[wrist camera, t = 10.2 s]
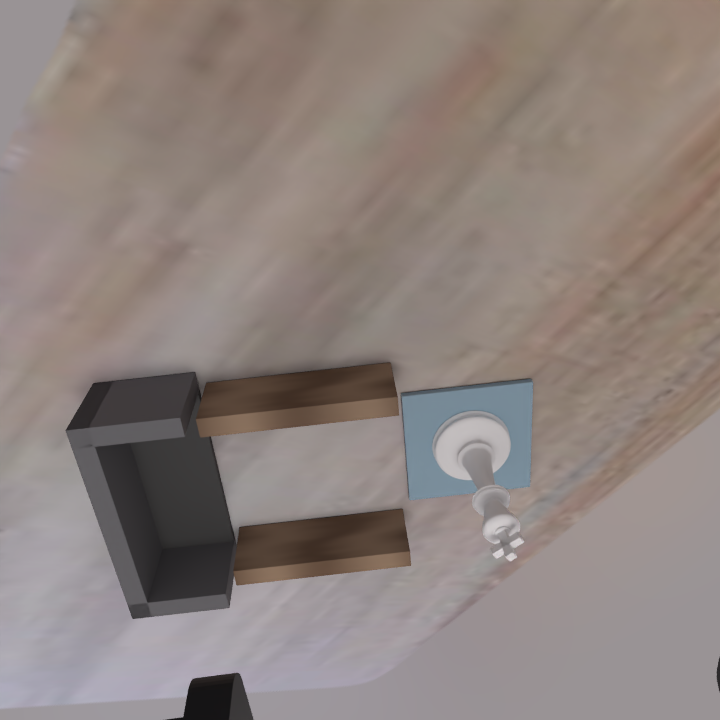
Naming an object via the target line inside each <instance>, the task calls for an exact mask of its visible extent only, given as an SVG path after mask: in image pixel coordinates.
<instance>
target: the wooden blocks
mask: <svg viewBox="0 0 720 720" xmlns="http://www.w3.org/2000/svg"><path fill="white" fill-rule="evenodd" d="M398 415H399V408H398V396H397V392H396V387H395V382H394V377H393V373H392V368H391V363H382V364H373V365H364V366H355V367H346V368H337V369H328V370H319V371H310V372H301V373H292V374H283V375H274V376H265V377H256V378H247V379H238V380H229V381H220V382H211V383H206V386H205V389H204V393H203V396H202V399H201V403H200V406H199V410H198V413H197V417H196V422H197V426H198V430H199V435H200V438H201V437H210V436H219V435H228V434H237V433H246V432H255V431H264V430H273V429H282V428H291V427H299V426H308V425H317V424H326V423H335V422H344V421H353V420H362V419H371V418H380V417H389V416H398ZM403 566H411V559H410V549H409V543H408V538H407V532H406V526H405V520H404V515H403V509H398V510H389V511H380V512H371V513H362V514H353V515H345V516H336V517H327V518H318V519H309V520H300V521H291V522H283V523H274V524H265V525H256V526H247V527H240V528H239V535H238V542H237V549H236V556H235V562H234V569H233V573H234V577H235V581H236V585H245V584H254V583H262V582H271V581H280V580H289V579H298V578H306V577H315V576H324V575H333V574H342V573H351V572H359V571H368V570H377V569H386V568H395V567H403Z"/></svg>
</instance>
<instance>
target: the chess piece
mask: <svg viewBox="0 0 720 720" xmlns="http://www.w3.org/2000/svg"><path fill="white" fill-rule="evenodd" d="M510 448H511V441H510V436H509V432H508V429H507V427H506V425H505V424H504V422H503V421H502V420H501V419H499V418H498V417H497V416H495V415H493V414H491V413H488V412H484V411H467V412H462V413H459V414H457V415H455V416H453V417H451V418H449V419H448V420H446V421H445V422H444V423H443V424H442V425H441V426H440V427H439V429H438V430H437V432H436V434H435V436H434V439H433V443H432V450H433V455H434V457H435V459H436V461H437V463H438V465H439V467H440V468H441V469H442V470H443V471H444V472H445V473H446V474H448V475H450V476H452V477H454V478H457V479H461V480H472V481H473V482H474V484H475V486H476V488H477V490H478V491H476V493H475V494H474V496H473V498H472V505H473V507H474V509H475V510H476V511H477V512H478V513H479V514H481V515H483V516H484V521H483V525H482V532H483V535H484V537H485V539H486V540H488V541H489V542H491V543H494V544H496V545H494V546H493V547H491V548H490V549H491V552H492V554H493V555H494V556H495V557H496V558H499V557H501V556H502V555H504V554H505V557H506V558H507V559H508V560H509V561H512V560H513V559H515V558H517V555H516V552H515V550H514V548H515V547H517V546H519V545H520V544H522V543H524V540H523V537H522V536H521V535H520V534H519V531H520V523H519V521H518V519H517V518H516V517H515V516H514V515H513V514H512V513H511V512H510V511H509V510H508V509H507V508H508V506H509V503H510V495H509V492H508V491H507V489H506V488H504V487H503V486H500V485H495V481H494V475H493V473H494V472H496V471H497V470H498V469H499V468H500V467H501V466H502V465H503V464H504V463H505V461H506V460H507V458H508V456H509V453H510Z"/></svg>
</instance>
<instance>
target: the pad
mask: <svg viewBox="0 0 720 720" xmlns="http://www.w3.org/2000/svg"><path fill="white" fill-rule="evenodd" d="M401 398H402V411H403V424H404V438H405V451H406V464H407V477H408V490H409V499H410V500H417V499H426V498H435V497H443V496H452V495H461V494H470V493H476V491H478V490H477V488H476V486H475V484H474V482H473V481H472V480H461V479H457V478H454V477H452V476H450V475H448V474H446V473H445V472H444V471H443V470H442V469H441V468H440V467H439V465H438V463H437V461H436V459H435V457H434V455H433V450H432V443H433V439H434V436H435V434H436V432H437V430H438V429H439V427H440V426H441V425H442V424H443V423H444V422H445V421H446V420H448V419H449V418H451V417H453V416H455V415H457V414H459V413H462V412H467V411H484V412H488V413H491V414H493V415H495V416H497V417H498V418H499V419H501V420H502V421H503V422H504V424H505V425H506V427H507V429H508V432H509V436H510V441H511V448H510V453H509V456H508V458H507V460H506V461H505V463H504V464H503V465H502V466H501V467H500V468H499V469H498V470H497V471H496V472H494V473H493V475H494V481H495V485H500V486H503V487H504V488H506V489H514V488H523V487H530V468H531V433H532V399H533V381H532V379H525V380H516V381H507V382H498V383H489V384H480V385H471V386H462V387H453V388H444V389H435V390H426V391H417V392H408V393H401Z"/></svg>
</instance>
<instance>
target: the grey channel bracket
mask: <svg viewBox="0 0 720 720" xmlns="http://www.w3.org/2000/svg"><path fill="white" fill-rule="evenodd" d="M200 403H201V395H200V391H199V386H198V382H197V378H196V374H195V372H192V373H183V374H174V375H165V376H156V377H147V378H138V379H129V380H120V381H111V382H102V383H93V385H92V387H91V388H90V390H89V392H88V393H87V395H86V397H85V399H84V400H83V402H82V404H81V405H80V407H79V409H78V410H77V412H76V414H75V415H74V417H73V419H72V421H71V422H70V424H69V426H68V427H67V429H66V433H67V436H68V439H69V442H70V444H71V447H72V450H73V453H74V456H75V458H76V461H77V464H78V467H79V470H80V472H81V475H82V478H83V481H84V484H85V486H86V489H87V492H88V495H89V498H90V501H91V503H92V506H93V509H94V512H95V515H96V517H97V520H98V523H99V526H100V529H101V531H102V534H103V537H104V540H105V543H106V545H107V548H108V551H109V554H110V557H111V559H112V562H113V565H114V568H115V571H116V574H117V576H118V579H119V582H120V585H121V588H122V590H123V593H124V596H125V599H126V602H127V604H128V607H129V610H130V613H131V616H132V618H133V619H137V618H145V617H154V616H163V615H172V614H180V613H189V612H198V611H207V610H216V609H224V608H229V606H230V599H231V592H232V585H233V579H234V573H233V569H234V562H235V556H236V549H237V546H236V542H235V538H234V534H233V529H232V525H231V521H230V517H229V513H228V508H227V504H226V500H225V496H224V492H223V487H222V483H221V479H220V475H219V471H218V466H217V462H216V458H215V454H214V449H213V445H212V441H211V437H201V438H200V435H199V430H198V426H197V422H196V417H197V413H198V410H199V406H200Z"/></svg>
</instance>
